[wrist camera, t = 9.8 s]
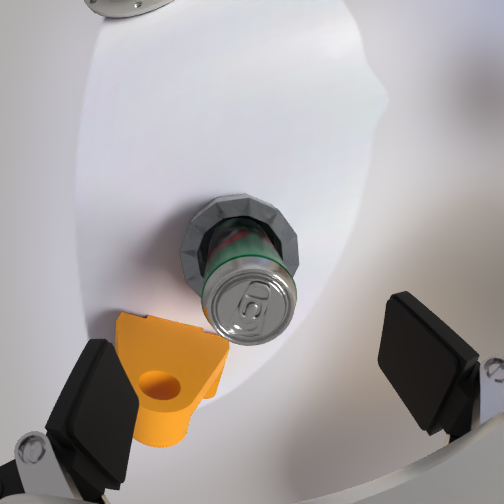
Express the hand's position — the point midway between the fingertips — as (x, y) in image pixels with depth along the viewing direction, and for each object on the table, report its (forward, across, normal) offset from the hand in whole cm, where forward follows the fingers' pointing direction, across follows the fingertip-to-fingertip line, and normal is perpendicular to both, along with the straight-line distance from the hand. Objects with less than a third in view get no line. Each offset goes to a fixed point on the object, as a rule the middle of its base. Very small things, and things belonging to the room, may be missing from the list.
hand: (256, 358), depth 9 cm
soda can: (+17, 0, +2) cm, 17 cm away
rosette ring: (+17, 0, +2) cm, 17 cm away
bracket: (+17, +8, +12) cm, 22 cm away
